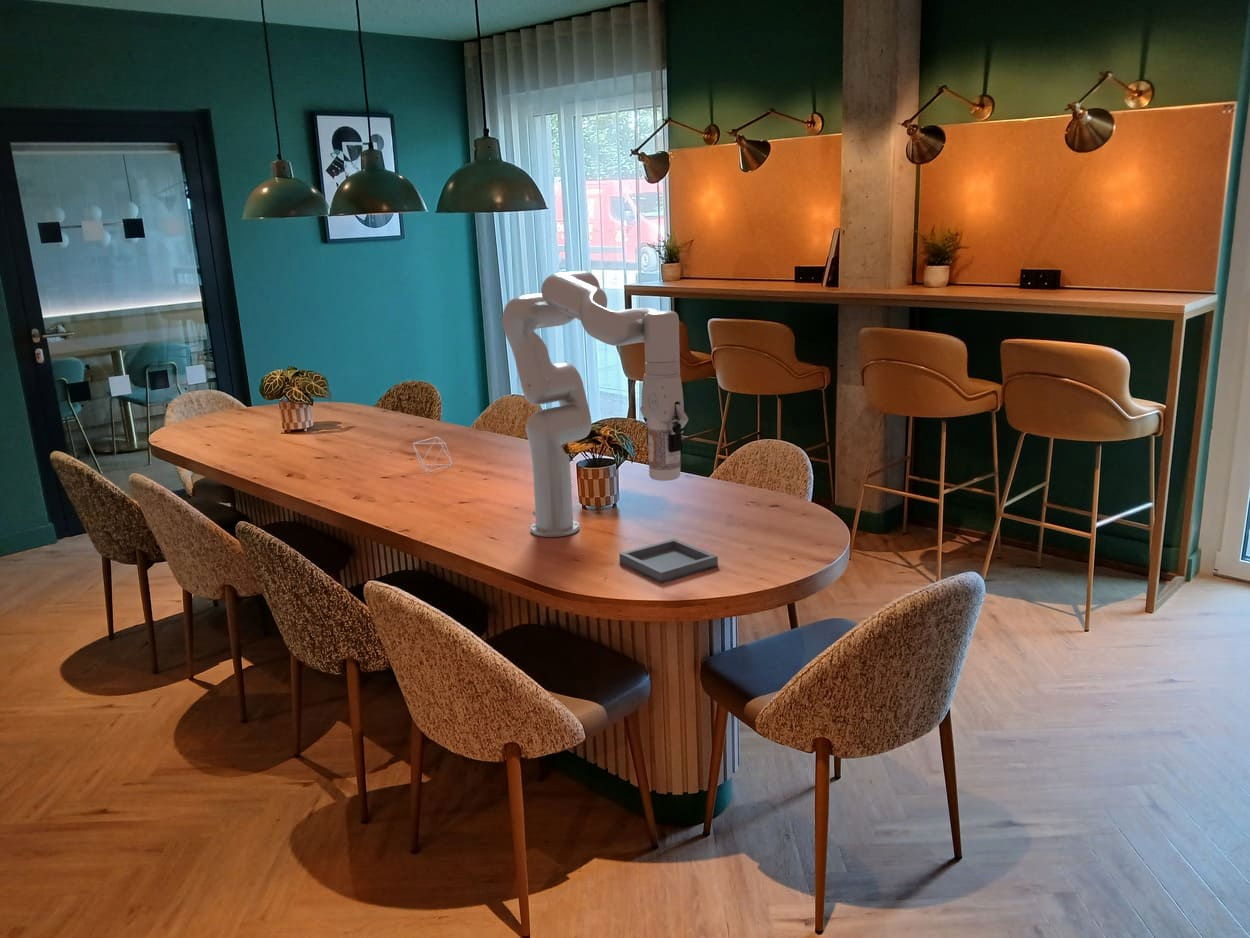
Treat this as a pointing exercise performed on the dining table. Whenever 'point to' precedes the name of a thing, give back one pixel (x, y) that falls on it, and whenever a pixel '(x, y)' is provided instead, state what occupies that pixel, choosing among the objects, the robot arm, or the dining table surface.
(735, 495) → the dining table surface
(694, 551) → the blue-gray tray
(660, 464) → the bath foam
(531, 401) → the robot arm
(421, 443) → the geometric polyhedron
